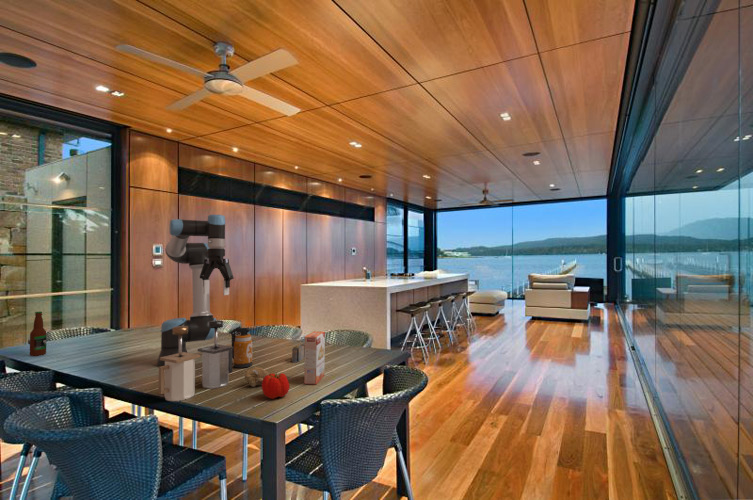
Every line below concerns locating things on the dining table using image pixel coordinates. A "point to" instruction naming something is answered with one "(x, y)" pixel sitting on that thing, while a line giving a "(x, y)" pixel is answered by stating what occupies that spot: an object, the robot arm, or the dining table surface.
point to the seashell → (255, 376)
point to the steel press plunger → (215, 329)
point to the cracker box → (314, 357)
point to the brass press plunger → (180, 335)
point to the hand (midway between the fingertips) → (216, 294)
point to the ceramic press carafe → (178, 376)
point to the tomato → (275, 385)
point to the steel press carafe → (216, 366)
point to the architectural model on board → (298, 353)
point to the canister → (241, 347)
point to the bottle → (38, 337)
